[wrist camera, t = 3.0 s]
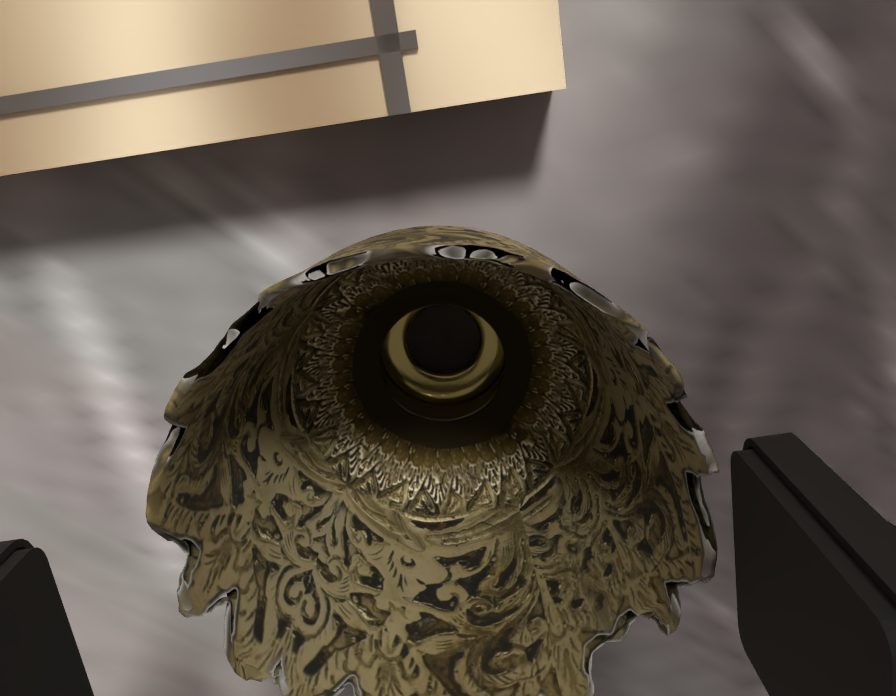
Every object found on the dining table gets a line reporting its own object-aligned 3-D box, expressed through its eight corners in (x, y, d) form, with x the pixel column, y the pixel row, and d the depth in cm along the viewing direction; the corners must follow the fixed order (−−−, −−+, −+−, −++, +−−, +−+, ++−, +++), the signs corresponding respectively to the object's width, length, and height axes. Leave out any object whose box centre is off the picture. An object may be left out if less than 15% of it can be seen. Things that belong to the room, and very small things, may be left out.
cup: (442, 540, 19) (432, 835, 12) (211, 339, 18) (30, 533, 10) (677, 338, 18) (840, 534, 10) (444, 94, 16) (434, 111, 8)
